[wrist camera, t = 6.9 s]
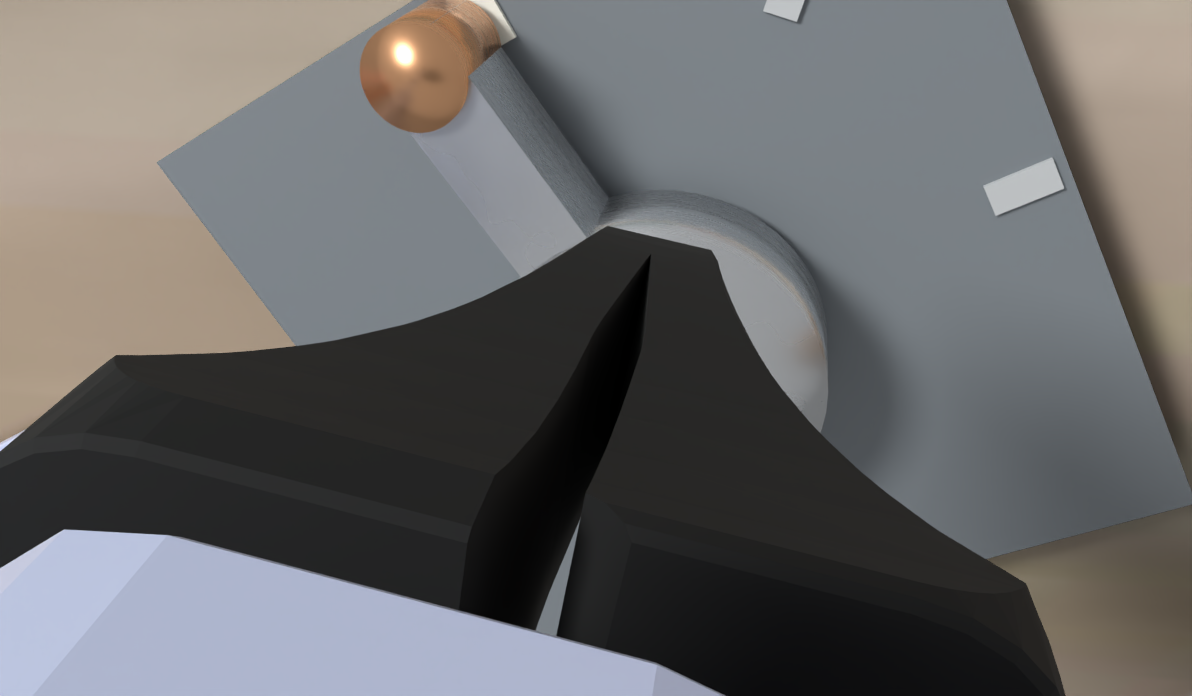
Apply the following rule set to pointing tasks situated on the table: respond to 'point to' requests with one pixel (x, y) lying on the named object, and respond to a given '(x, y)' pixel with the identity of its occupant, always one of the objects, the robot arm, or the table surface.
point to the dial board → (784, 203)
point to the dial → (576, 184)
